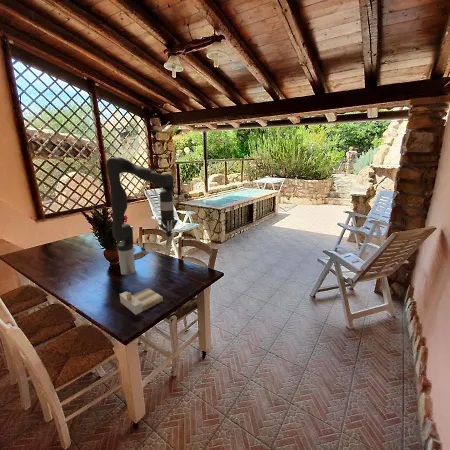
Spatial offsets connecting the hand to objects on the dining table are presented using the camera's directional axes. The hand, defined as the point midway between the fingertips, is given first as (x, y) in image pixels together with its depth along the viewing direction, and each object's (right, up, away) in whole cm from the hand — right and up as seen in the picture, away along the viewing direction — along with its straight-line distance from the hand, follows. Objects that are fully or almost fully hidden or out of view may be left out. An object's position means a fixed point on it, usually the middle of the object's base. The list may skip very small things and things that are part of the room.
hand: (169, 236), depth 152 cm
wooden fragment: (-36, -19, +42) cm, 58 cm away
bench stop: (-16, -36, -19) cm, 44 cm away
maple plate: (-9, -35, -14) cm, 39 cm away
